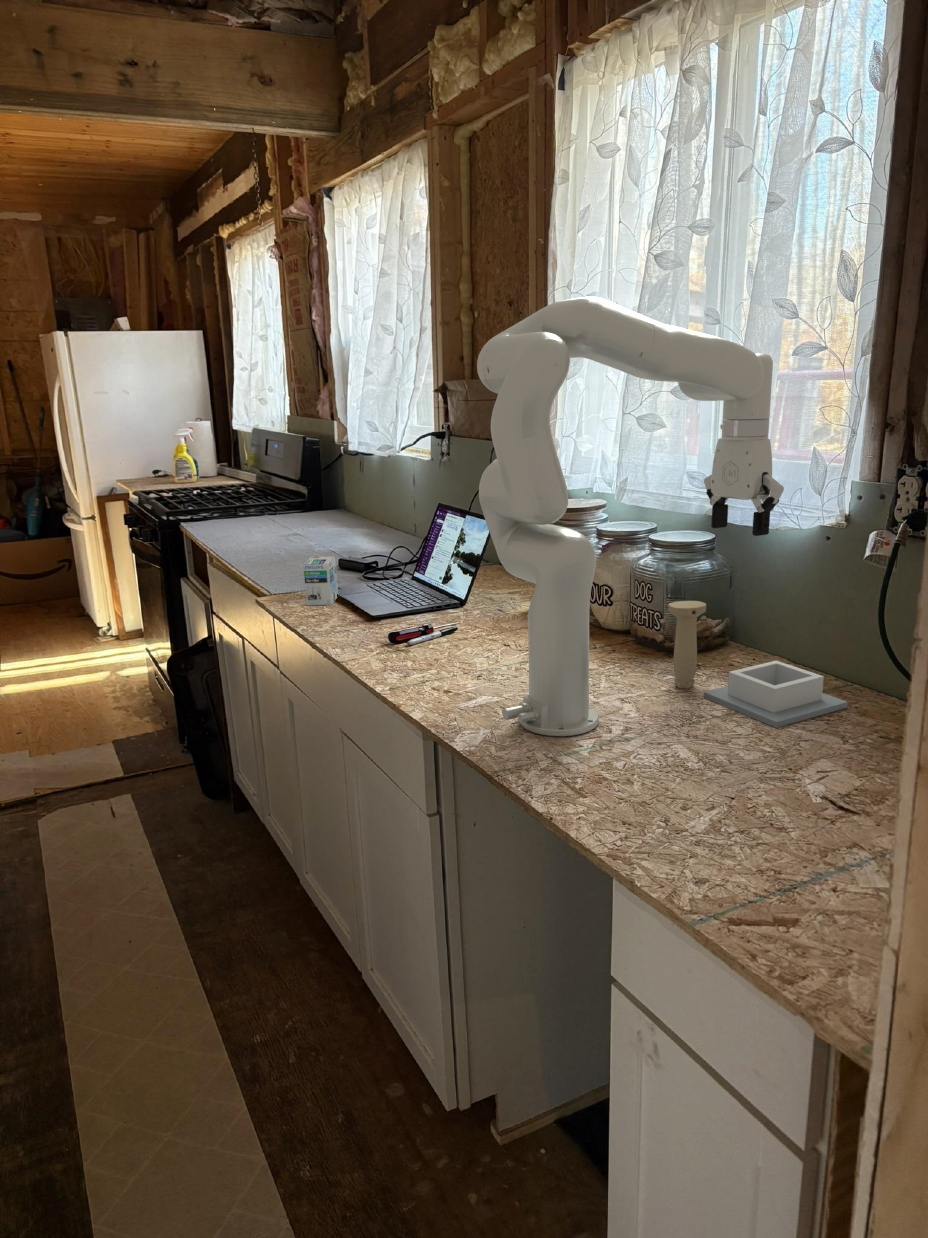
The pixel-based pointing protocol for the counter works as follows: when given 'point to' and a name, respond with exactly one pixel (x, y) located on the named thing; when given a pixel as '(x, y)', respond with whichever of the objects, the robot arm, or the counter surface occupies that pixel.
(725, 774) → the counter surface
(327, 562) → the light bulb box
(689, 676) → the handle
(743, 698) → the socket plate
